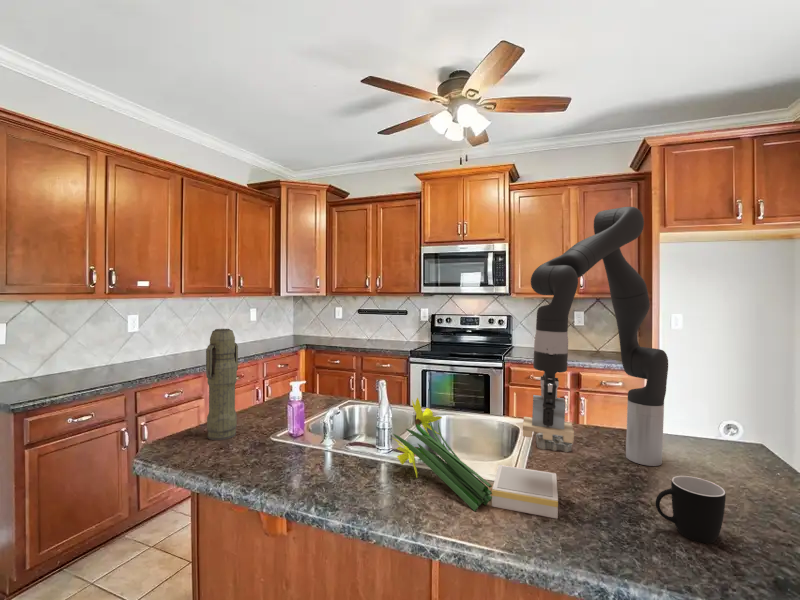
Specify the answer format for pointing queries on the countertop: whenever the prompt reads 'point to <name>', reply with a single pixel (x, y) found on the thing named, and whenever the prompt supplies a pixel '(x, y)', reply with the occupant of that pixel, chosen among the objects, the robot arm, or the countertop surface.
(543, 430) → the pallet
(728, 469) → the countertop surface
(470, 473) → the daffodil flowers
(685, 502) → the mug
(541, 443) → the egg carton
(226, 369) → the thermos
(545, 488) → the dock
